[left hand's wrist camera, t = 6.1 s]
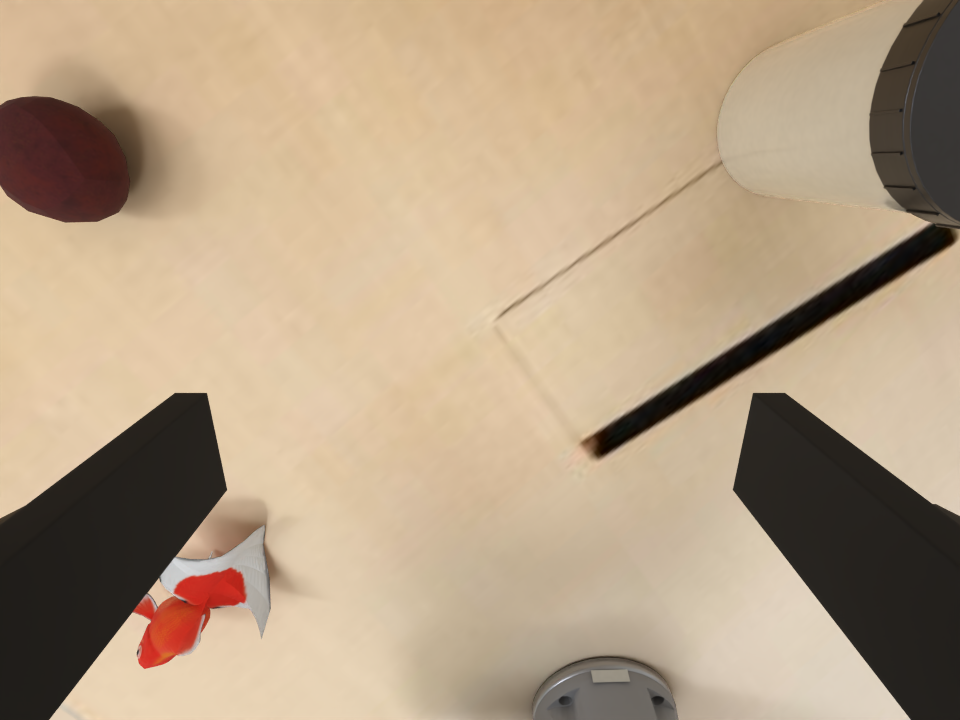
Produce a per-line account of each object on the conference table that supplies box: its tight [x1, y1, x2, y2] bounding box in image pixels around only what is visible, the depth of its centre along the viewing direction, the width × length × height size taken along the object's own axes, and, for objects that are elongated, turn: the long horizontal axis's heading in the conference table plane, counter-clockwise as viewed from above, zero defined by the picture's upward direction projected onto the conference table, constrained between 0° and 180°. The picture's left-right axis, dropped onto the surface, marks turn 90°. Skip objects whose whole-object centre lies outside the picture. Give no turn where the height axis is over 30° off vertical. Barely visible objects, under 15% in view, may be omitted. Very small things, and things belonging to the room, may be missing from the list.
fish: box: [133, 525, 271, 669], centre depth 45 cm, size 11×16×10 cm
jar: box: [717, 0, 923, 213], centre depth 27 cm, size 10×10×17 cm
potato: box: [0, 96, 130, 222], centre depth 33 cm, size 7×8×7 cm
